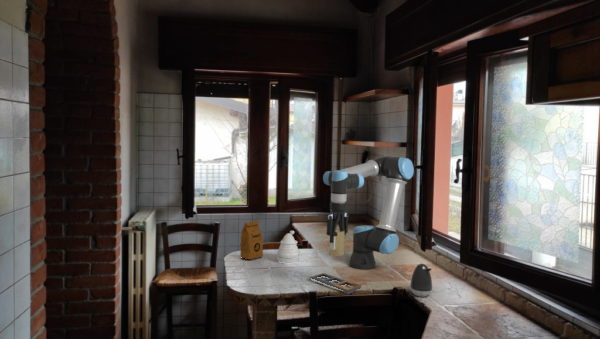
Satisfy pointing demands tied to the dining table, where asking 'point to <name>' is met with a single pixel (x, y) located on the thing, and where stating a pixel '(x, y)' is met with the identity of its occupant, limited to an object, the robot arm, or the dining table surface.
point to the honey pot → (288, 249)
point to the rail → (338, 285)
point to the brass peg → (338, 244)
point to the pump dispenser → (421, 281)
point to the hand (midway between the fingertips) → (336, 248)
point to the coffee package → (251, 241)
